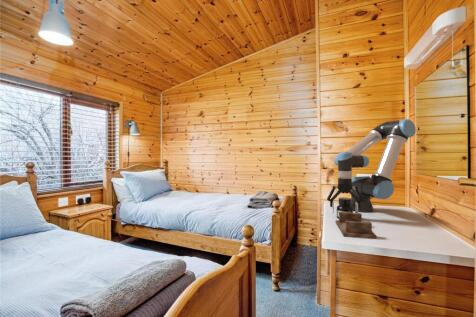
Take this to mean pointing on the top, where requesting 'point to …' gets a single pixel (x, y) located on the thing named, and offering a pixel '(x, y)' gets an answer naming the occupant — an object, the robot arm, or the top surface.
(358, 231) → the cradle
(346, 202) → the ink bottle
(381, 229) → the top surface
